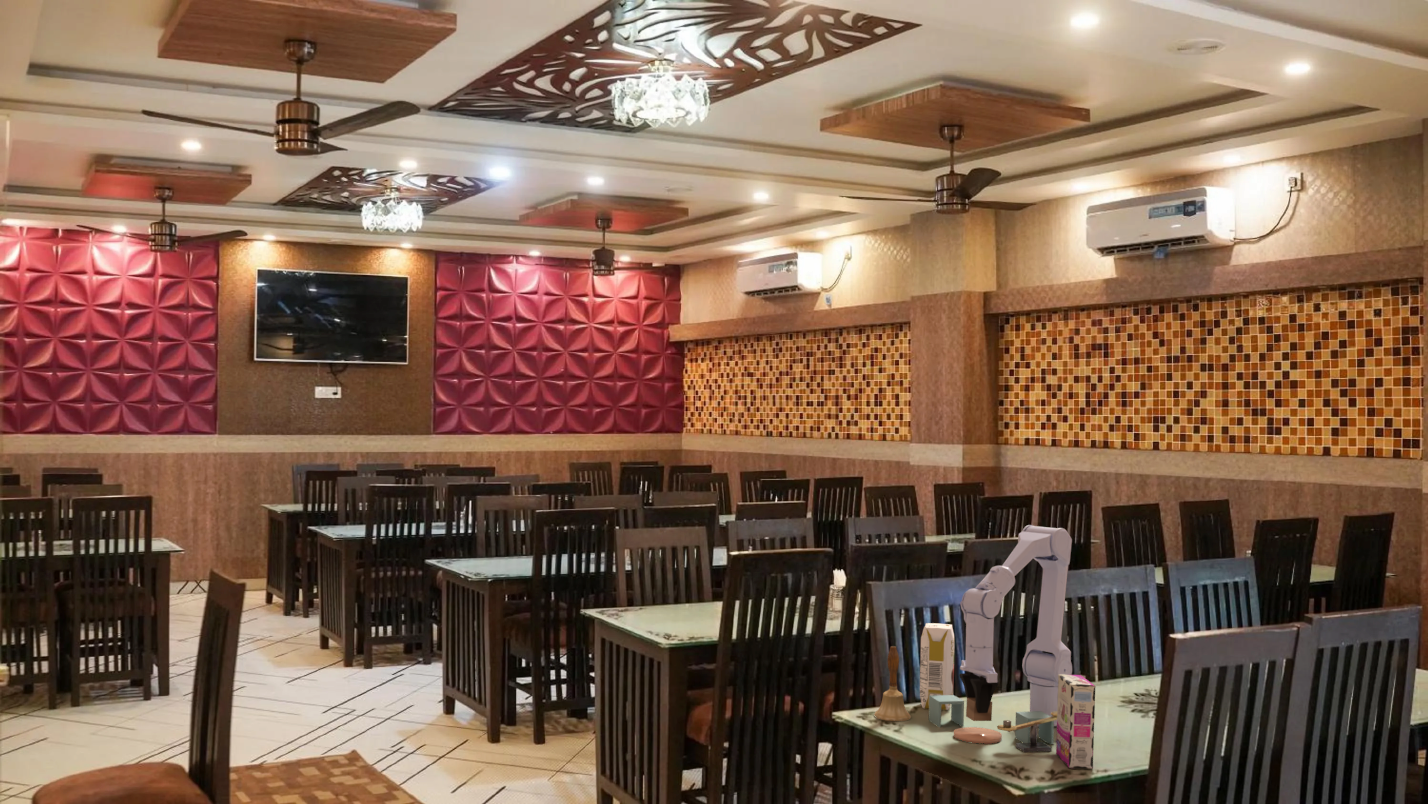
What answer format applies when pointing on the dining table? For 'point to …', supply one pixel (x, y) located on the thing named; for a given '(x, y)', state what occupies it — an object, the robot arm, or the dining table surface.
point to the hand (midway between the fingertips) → (978, 709)
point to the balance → (1033, 733)
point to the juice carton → (936, 662)
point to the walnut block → (974, 715)
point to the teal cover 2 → (1044, 729)
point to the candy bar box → (1075, 721)
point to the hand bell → (892, 694)
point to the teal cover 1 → (956, 708)
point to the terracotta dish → (977, 735)
